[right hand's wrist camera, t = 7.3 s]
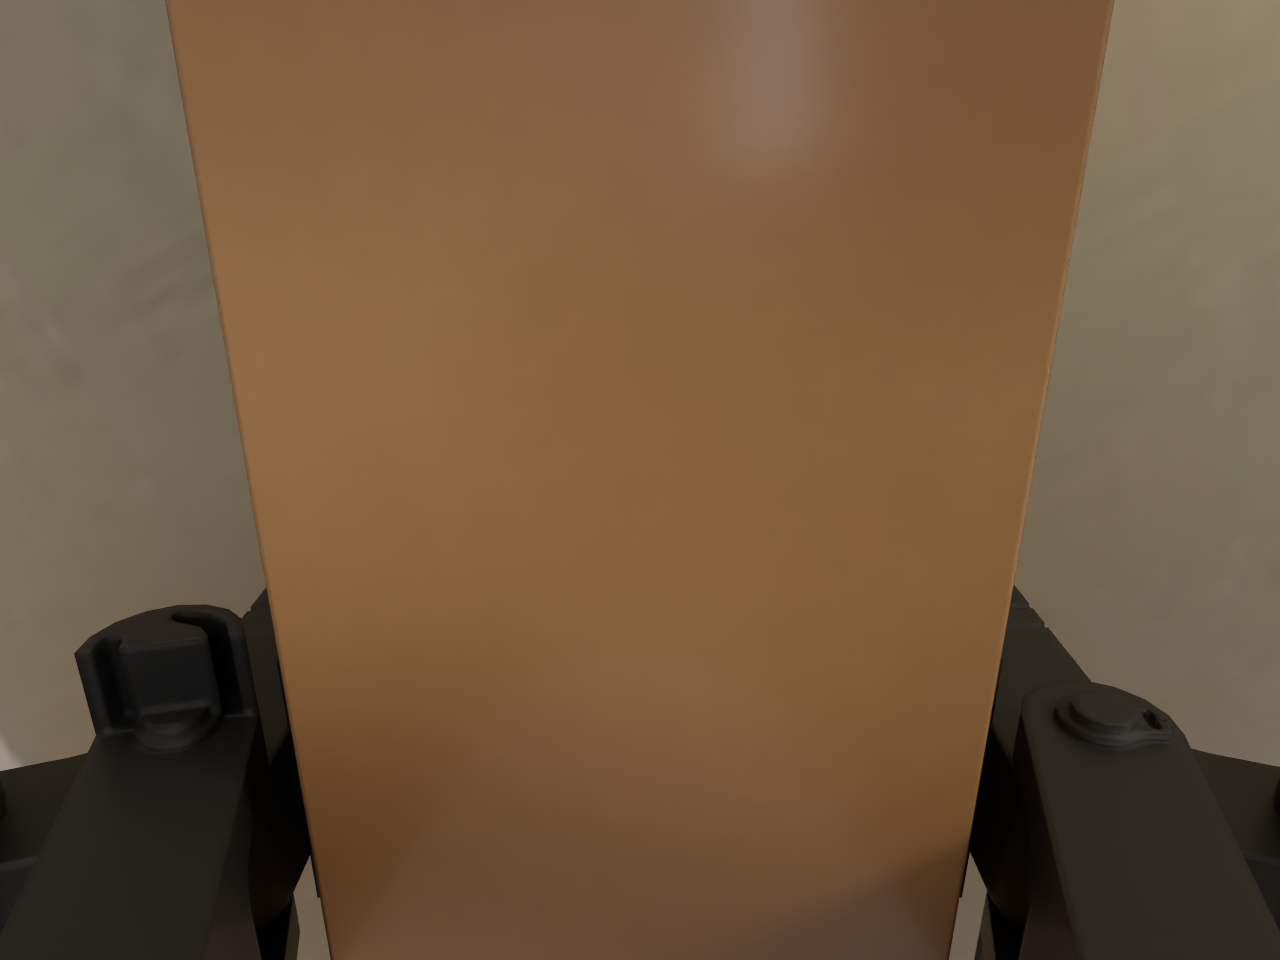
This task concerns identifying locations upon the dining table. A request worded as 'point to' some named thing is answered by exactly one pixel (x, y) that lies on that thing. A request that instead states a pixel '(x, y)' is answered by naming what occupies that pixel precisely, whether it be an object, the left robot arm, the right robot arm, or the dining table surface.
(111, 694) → the right robot arm
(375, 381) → the board
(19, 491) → the dining table surface
